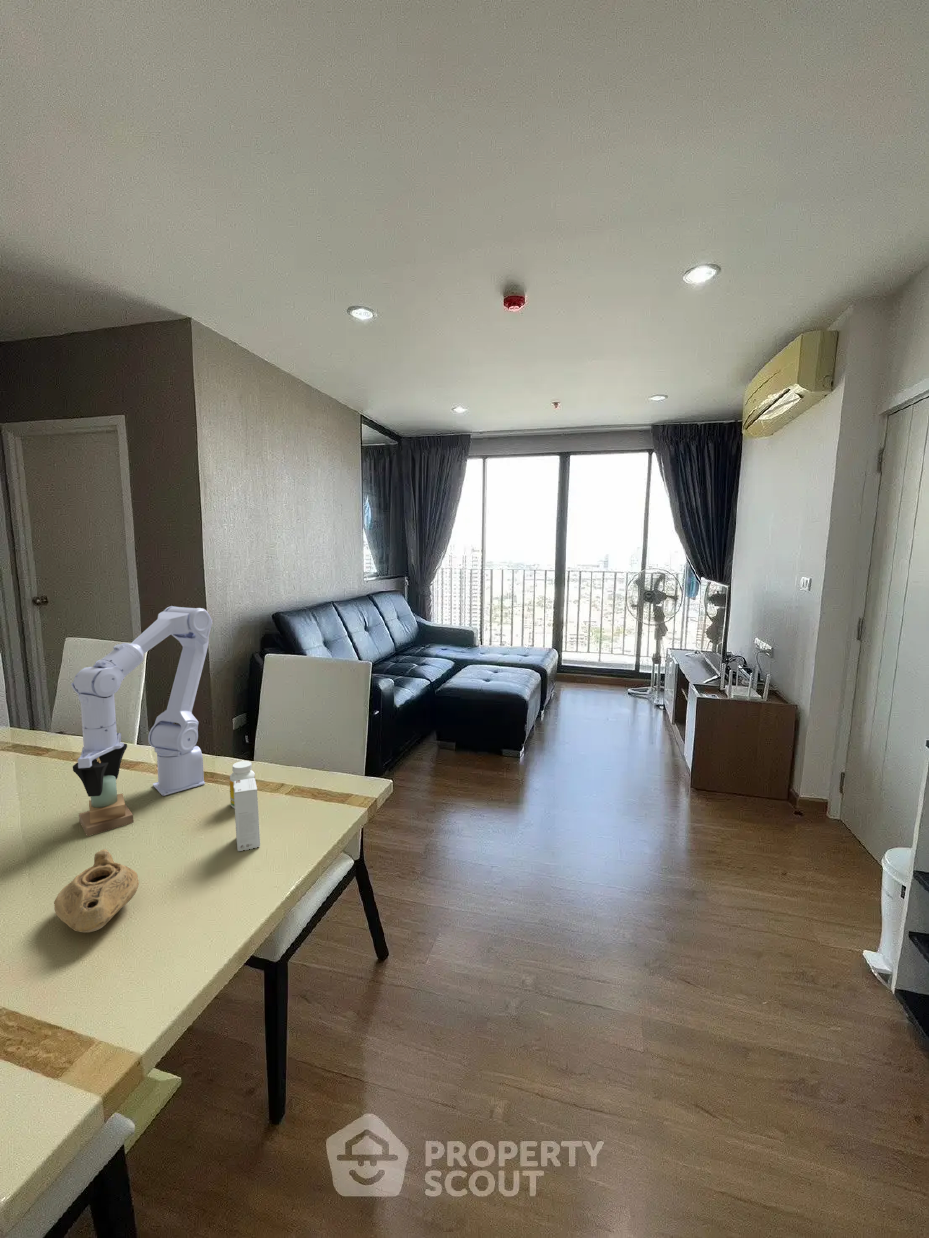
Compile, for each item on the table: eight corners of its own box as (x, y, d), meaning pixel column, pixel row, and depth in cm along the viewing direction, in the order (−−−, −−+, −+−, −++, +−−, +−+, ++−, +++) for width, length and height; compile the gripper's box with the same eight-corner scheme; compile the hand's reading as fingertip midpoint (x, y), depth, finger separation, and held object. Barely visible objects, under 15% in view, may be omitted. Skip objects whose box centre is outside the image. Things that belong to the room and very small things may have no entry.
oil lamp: (57, 962, 72) (53, 909, 71) (54, 904, 83) (50, 859, 82) (148, 927, 79) (145, 879, 78) (133, 878, 90) (131, 836, 89)
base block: (124, 811, 114) (123, 801, 114) (133, 825, 109) (133, 814, 108) (79, 824, 108) (78, 813, 108) (87, 840, 103) (86, 828, 103)
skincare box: (260, 847, 100) (259, 789, 99) (235, 852, 99) (234, 793, 97) (258, 832, 106) (257, 776, 104) (234, 836, 104) (232, 780, 103)
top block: (123, 804, 113) (122, 793, 112) (125, 815, 108) (124, 804, 108) (89, 811, 109) (88, 800, 109) (90, 823, 104) (89, 812, 104)
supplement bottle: (236, 798, 120) (235, 759, 119) (259, 798, 120) (258, 759, 119) (226, 809, 115) (225, 768, 114) (250, 809, 115) (249, 769, 114)
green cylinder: (121, 796, 111) (119, 774, 110) (111, 807, 106) (109, 784, 106) (98, 798, 110) (96, 776, 109) (86, 808, 105) (84, 785, 105)
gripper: (105, 735, 100) (109, 801, 101) (135, 713, 114) (138, 771, 115) (63, 737, 98) (68, 804, 100) (99, 714, 112) (102, 773, 114)
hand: (103, 787), depth 107 cm, fingers open, 7 cm apart
